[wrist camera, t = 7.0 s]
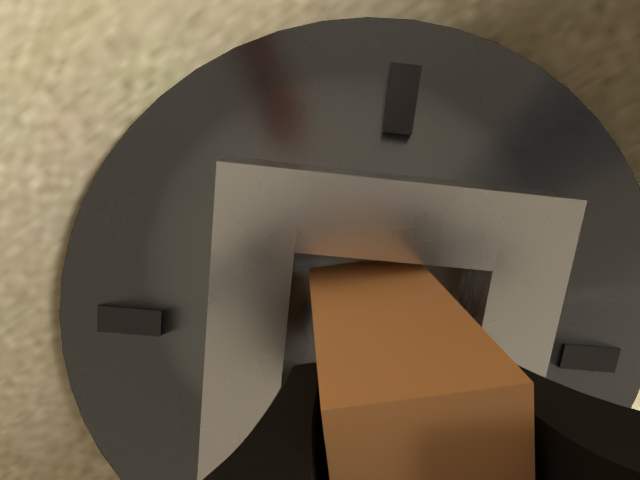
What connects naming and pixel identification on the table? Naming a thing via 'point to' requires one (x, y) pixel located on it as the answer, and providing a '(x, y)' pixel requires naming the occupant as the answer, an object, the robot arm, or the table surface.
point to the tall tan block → (414, 381)
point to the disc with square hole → (339, 228)
